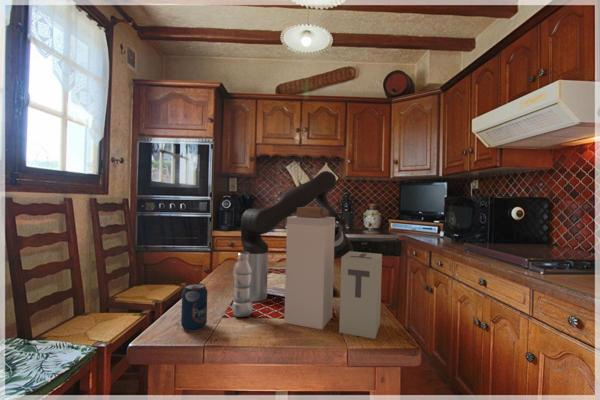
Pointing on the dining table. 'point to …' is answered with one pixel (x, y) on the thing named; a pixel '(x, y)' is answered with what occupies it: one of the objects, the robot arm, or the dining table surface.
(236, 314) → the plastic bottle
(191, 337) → the dining table surface
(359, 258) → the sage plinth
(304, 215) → the walnut paddle
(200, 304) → the soda can
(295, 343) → the dining table surface
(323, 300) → the cream stand
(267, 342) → the dining table surface
